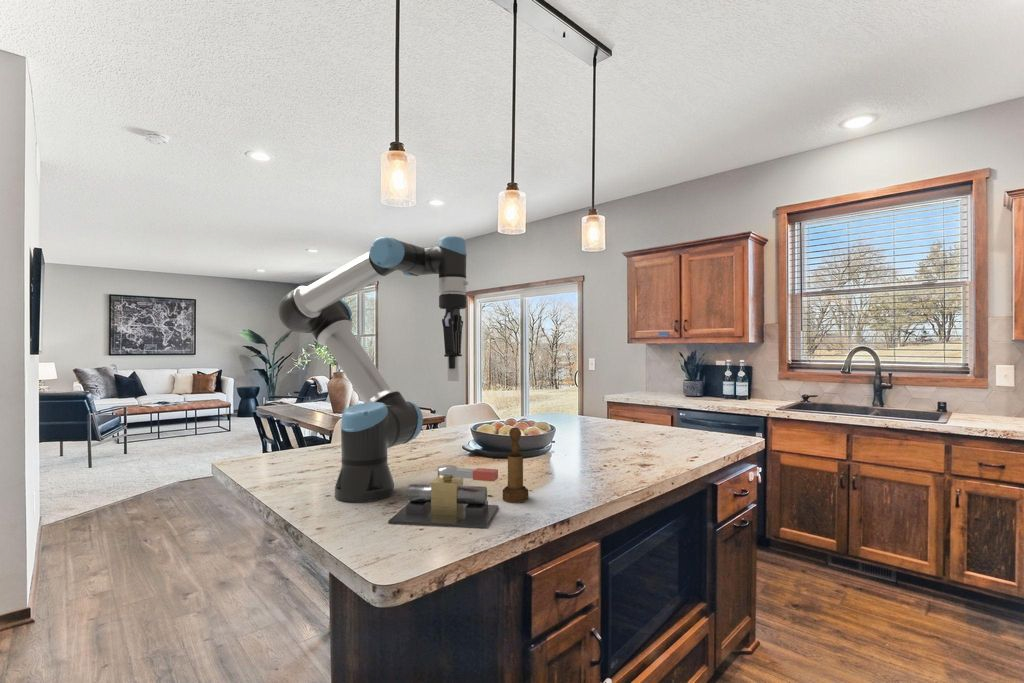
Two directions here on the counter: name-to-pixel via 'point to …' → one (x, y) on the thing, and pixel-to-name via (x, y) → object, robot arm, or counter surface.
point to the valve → (446, 505)
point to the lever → (467, 473)
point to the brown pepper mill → (515, 472)
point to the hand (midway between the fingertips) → (453, 380)
